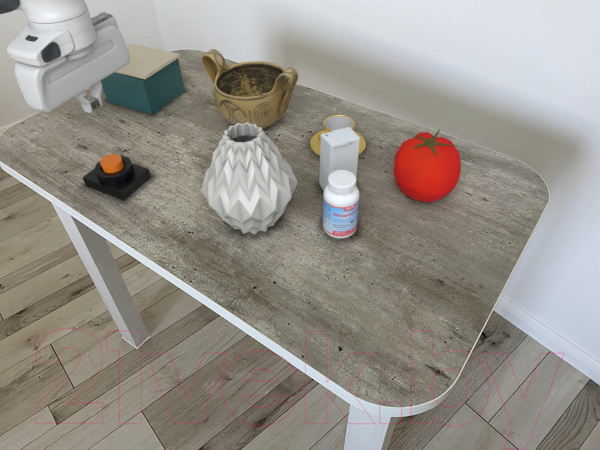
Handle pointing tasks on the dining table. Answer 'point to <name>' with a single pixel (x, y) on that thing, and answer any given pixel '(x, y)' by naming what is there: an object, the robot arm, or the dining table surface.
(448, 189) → the tomato
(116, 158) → the flush button
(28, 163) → the dining table surface
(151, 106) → the teal hollow open box
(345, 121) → the cup
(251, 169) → the vase
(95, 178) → the push button housing
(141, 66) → the beige flat rectangular panel
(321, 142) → the cosmetic box
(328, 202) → the pill bottle
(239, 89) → the ceramic bowl
